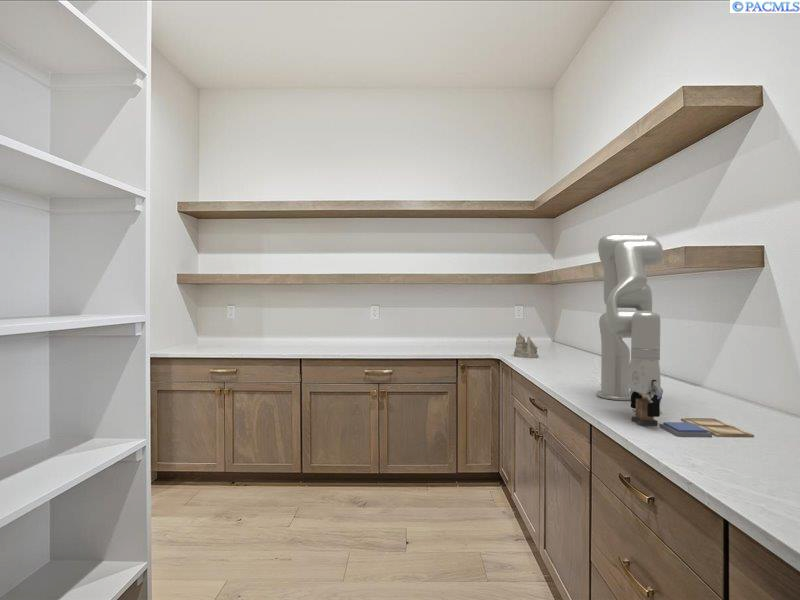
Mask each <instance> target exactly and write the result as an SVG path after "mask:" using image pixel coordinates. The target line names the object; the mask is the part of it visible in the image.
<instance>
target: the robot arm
mask: <svg viewBox="0 0 800 600" xmlns="http://www.w3.org/2000/svg"><path fill="white" fill-rule="evenodd" d="M597 245H598V246H597V253H598V257H599V260H600V263H601V266H602V268H603V301H604V304H605V308H606V309H605V310H606V311H605V312H604V313H602V314H601V315H600V316H599V320H598V324H599V325H598V326H599V332H600V342H601V346H600V347H601V353H600V354H601V356H600V357H601V360H600V367H601V368H600V369H601V370H600V372H601V373H600V375H601V376H600V390H597V391H596V392H595V394H596V396H597V397H599V398H601V399H607V400H613V401H630V408H631V409H633V408H636V399H642V395H645V394H646V395H647V397H648V400H649V402H647V416H649V417H654V418H659V417H660V415H661V414H660V411H661V409H660V407H661V403H662V401H661V400H662V398H663V394H664V390H663V388H662V387H661V367H660V360H661V316H660V315H659V313H657V312H653V294H652V293H653V292H652V289H651V287H650V285H649V284H648V277H647V273H646V266H658V265H660V264H662V263H661V262H662V261H663V259H664V258H663V257H664V250H663V246H662V244H661V242H660V241H659V240H658V239H657V238H656V237H654V236H653V235H652V234H649V233H613V234H612V233H611V234H607V235H603V236H602V237H600V238H599V241H598V244H597ZM619 309H635V310H619ZM627 338H628V339H629V338H630V339H631V341H630V343H631V345H630V346H631V347H629V346H628V345H627V343H626V342H625V341H624V340H623V339H627ZM640 394H642V395H640ZM651 396H653V397H651Z"/></svg>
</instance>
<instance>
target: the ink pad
mask: <svg viewBox="0 0 800 600" xmlns="http://www.w3.org/2000/svg"><path fill="white" fill-rule="evenodd" d="M658 424H659V428H660V427H661V428H660V429H662V430H664V431H666V430H667V431H666V432H668V433H670V434H672V435H674V436H676V437H677V436H681V437H680V438H713V435H712V433H710V432H708V430H706V429H704V428H701V427H699V426H697V425H695V424H693V423H690V422H684V421H678V422H677V421H663V423H661V422H660V423H658Z"/></svg>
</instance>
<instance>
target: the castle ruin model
mask: <svg viewBox="0 0 800 600" xmlns="http://www.w3.org/2000/svg"><path fill="white" fill-rule="evenodd" d="M515 346H516V347H515V348H514V351H513V357H515V358H523V359H538V358H539V354H538V347H537V345H535V343H534V342H533V340H532V339H531V336H527V339H525V336H523V335H522V334H521V332H518V336H516V340H515Z"/></svg>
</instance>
